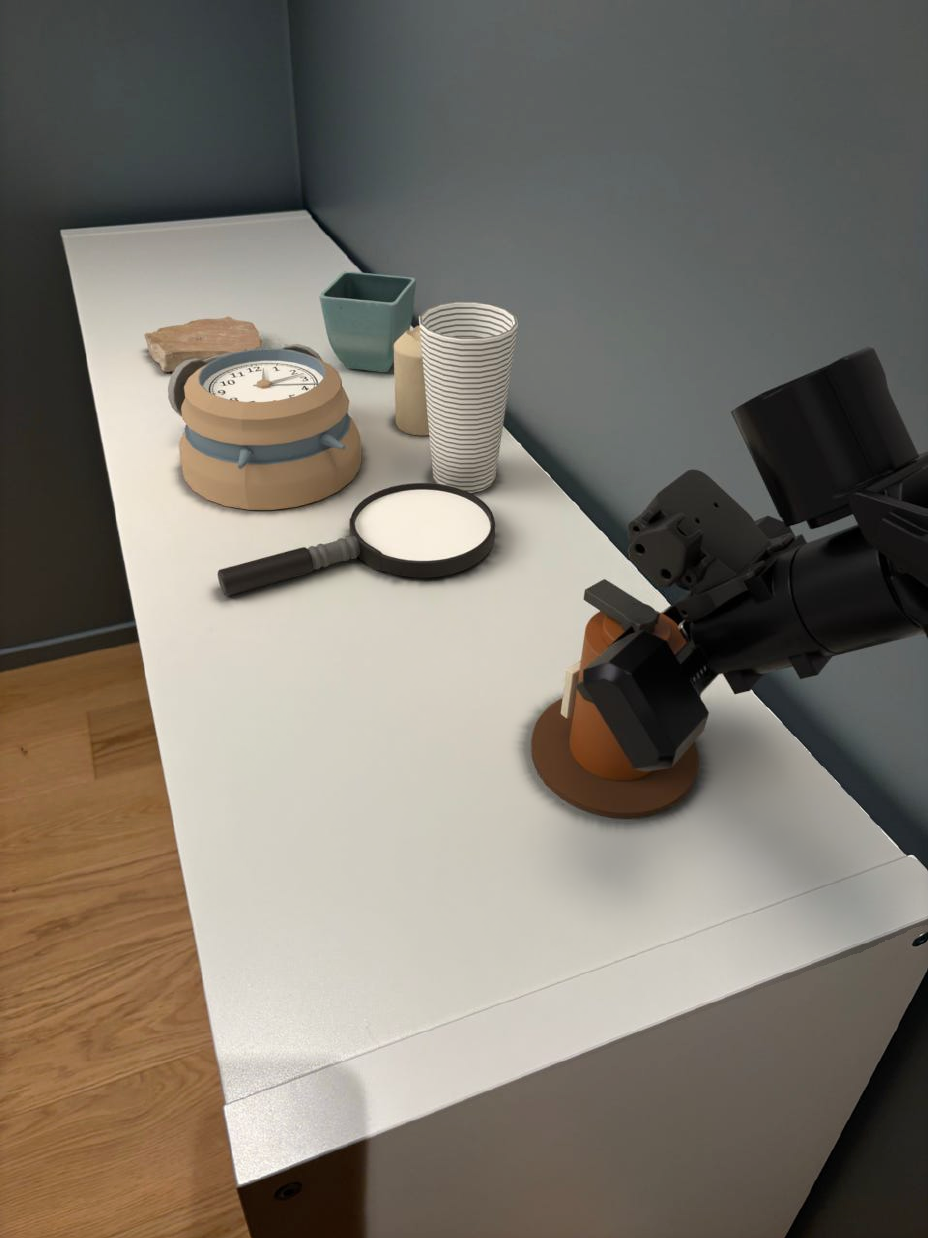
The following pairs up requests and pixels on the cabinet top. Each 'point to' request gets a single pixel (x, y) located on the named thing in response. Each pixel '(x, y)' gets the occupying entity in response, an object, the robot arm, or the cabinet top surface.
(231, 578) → the magnifying glass
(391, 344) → the flower pot
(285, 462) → the alarm clock
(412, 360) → the candle
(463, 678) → the cabinet top surface
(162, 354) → the stone
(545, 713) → the coaster
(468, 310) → the cup
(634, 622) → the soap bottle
